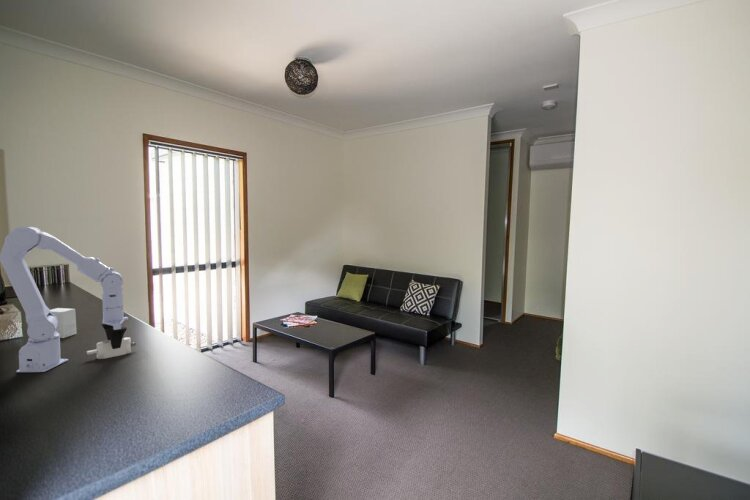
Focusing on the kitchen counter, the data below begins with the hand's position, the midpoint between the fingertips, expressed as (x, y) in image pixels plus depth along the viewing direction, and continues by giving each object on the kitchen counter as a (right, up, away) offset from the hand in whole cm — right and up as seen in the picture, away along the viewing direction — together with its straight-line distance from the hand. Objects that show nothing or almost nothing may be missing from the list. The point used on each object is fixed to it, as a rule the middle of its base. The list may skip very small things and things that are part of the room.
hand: (114, 345), depth 120 cm
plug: (0, -3, 0) cm, 3 cm away
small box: (-35, -1, +18) cm, 39 cm away
